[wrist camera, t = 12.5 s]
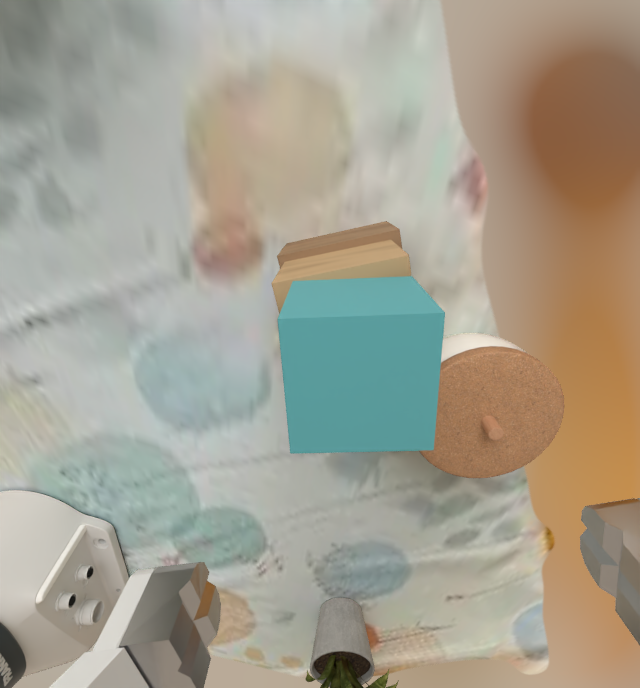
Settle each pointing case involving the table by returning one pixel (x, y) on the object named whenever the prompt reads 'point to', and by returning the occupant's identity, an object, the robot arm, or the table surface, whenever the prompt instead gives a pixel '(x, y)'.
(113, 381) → the table surface
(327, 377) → the teal block
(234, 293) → the table surface
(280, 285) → the block
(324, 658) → the house plant
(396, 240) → the tower bottom
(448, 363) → the lidded jar
